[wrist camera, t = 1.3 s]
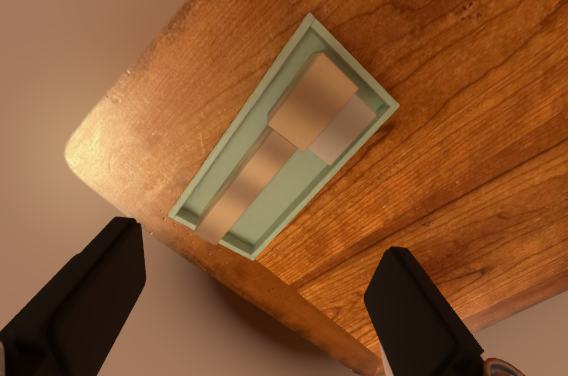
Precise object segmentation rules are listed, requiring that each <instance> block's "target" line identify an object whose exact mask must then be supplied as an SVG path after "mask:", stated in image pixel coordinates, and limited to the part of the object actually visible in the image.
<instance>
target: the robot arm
mask: <svg viewBox="0 0 568 376" xmlns="http://www.w3.org/2000/svg"><path fill="white" fill-rule="evenodd" d="M145 282H146V270H145V260H144V249H143V239H142V228H141V224H140V223H137V222H136V220H135V219H134V218H127V217H114V218H113V219H112V220H111V221H110V222H109V223H108V225H106V227H105V228H104V229H103V230H102V231H101V232H100V233H99V234H98V235H97V236H96V237H95V238H94V239H93V240H92V241H91V242H90V243H89V244H88V245H87V246H86V247H85V249H84V250H83V251H82V252H81V253H79V254H76V255H75V256H74V257H73V258H71V259H70V261H68V262H67V264H66V265H65V266H64V267H63V268H62V269H61V270H60V271H59V272H58V273H57V274H56V275H55V276H54V277H53V278H52V279H51V280H50V281H49V282H48V283H47V284H46V285H45V286H44V287H43V288H42V289H41V290H40V291H39V292H38V293H37V294H36V296H34V297H33V298H32V299H31V300H30V302H29V303H28V304H27V305H26V306H25V307H24V308H23V309H22V310H21V311H20V312H19V313H18V314H17V315H16V316H15V317H14V318H13V319H12V320H11V321H10V322H9V323H8V324H7V325H6V326H5V327H4V328H3V329H2V330H1V331H0V376H97V374H98V372H99V370H100V368H101V367H102V365H103V363H104V361H105V359H106V357H107V355H108V353H109V352H110V350H111V348H112V346H113V344H114V342H115V340H116V338H117V336H118V335H119V333H120V331H121V329H122V327H123V325H124V323H125V322H126V320H127V318H128V316H129V314H130V312H131V310H132V308H133V307H134V305H135V303H136V301H137V299H138V297H139V295H140V294H141V292H142V290H143V288H144V286H145ZM364 303H365V306H366V308H367V311H368V313H369V316H370V318H371V321H372V323H373V326H374V328H375V331H376V333H377V336H378V338H379V341H380V343H381V346H382V348H383V350H384V353H385V355H386V358H387V360H388V363H389V365H390V368H391V370H392V373H393V375H394V376H525V375H524V374H523V373H522V372H521V371H520V370H518V369H517V368H515V367H514V366H512V365H511V364H509V363H507V362H505V361H503V360H500V359H497V358H488V359H486V360H485V361H484V360H483V358H482V357H481V356H480V355H481V354H482V353H483V352H484V350H483V349H482V347H481V346H480V345H479V343H478V342H477V341H476V339H475V338H474V337H473V335H472V334H471V333H470V331H469V330H468V329H467V327H466V326H465V325H464V323H463V322H462V321H461V319H460V318H459V317H458V315H457V314H456V313H455V311H454V310H453V309H452V307H451V306H450V304H449V303H448V302H447V300H446V299H445V298H444V296H443V295H442V294H441V292H440V291H439V290H438V288H437V287H436V286H435V284H434V283H433V282H432V280H431V279H430V278H429V276H428V275H427V274H426V272H425V271H424V270H423V268H422V267H421V266H420V264H419V263H418V262H417V260H416V259H415V257H414V256H413V255H412V253H411V252H410V251H409V250H408V249H407V248H404V247H395V246H392V247H390V248H389V249H388V250H386V251H385V252H384V254H383V257H382V259H381V261H380V263H379V265H378V267H377V269H376V271H375V273H374V275H373V277H372V279H371V281H370V284H369V286H368V288H367V290H366V292H365V294H364Z"/></svg>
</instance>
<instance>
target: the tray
mask: <svg viewBox="0 0 568 376" xmlns="http://www.w3.org/2000/svg"><path fill="white" fill-rule="evenodd" d="M321 52H322V53H324V54H325V55H326V56H327V57H328V58H329V59H330V60H331V61H332V62H333V63H334V64H335V65H336V66H337V67H338V68H339V69H340V70H341V71H342V72H343V73H344V74H345V75H346V76H347V77H348V78H349V79H350V80H351V81H352V82H353V83H354V84H355V85H356V86H357V87H358V88H359V89H358V90H357V91H356V92H355V94H356V95H357V96H358V97H359V98H360V99H361V100H362V101H363V102H364V103H365V104H366V105H367V106H368V107H369V108H370V109H371V110H372V111H373V112H374V113H375V114H376V115H377V116H376V117H375V118H374V119H373V120H372V121H371V122H370V123H369V125H368V126H367V127H366V128H365V129H364V130H363V131H362V132H361V133H360V134H359V135H358V136H357V138H356V139H355V140H354V141H353V142H352V143H351V144H350V145H349V146H348V147H347V148H346V149H345V150H344V152H343V153H342V154H341V155H340V156H339V157H338V158H337V159H336V160H335V161H334V162H333V163H332V164H331V165H328V164H327V163H326V162H325V161H323V160H322V159H321V158H319V157H318V156H317V155H316V154H314V153H313V152H312V151H310V150H309V149H308V148H307V149H306V151H305V152H302V151H301V150H300V149H299V148H297V150H296V151H295V152H294V153H293V155H292V156H291V157H290V158H289V159H288V161H287V162H286V163H285V164H284V165H283V167H282V168H281V169H280V170H279V171H278V172H277V174H276V175H275V176H274V177H273V178H272V180H271V181H270V182H269V183H268V184H267V186H266V187H265V188H264V189H263V190H262V191H261V193H260V194H259V195H258V196H257V197H256V199H255V200H254V201H253V202H252V203H251V205H250V206H249V207H248V208H247V209H246V210H245V212H244V213H243V214H242V215H241V216H240V218H239V219H238V220H237V221H236V222H235V223H234V225H233V226H232V227H231V228H230V229H229V231H228V232H227V233H226V234H225V235H224V237H223V238H222V239H221V240H220V241H219V242H218V243H220V244H222V245H224V246H226V247H227V248H229V249H231V250H233V251H235V252H237V253H239V254H241V255H243V256H245V257H247V258H249V259H250V260H252V261H253V260H254V259H255V258H256V257H257V256H258V255H259V254H260V253H261V252H262V250H263V249H264V248H265V247H266V246H267V245H268V244H269V243H270V242H271V241H272V240H273V239H274V238H275V237H276V236H277V235H278V234H279V233H280V232H281V231H282V229H283V228H284V227H285V226H286V225H287V224H288V223H289V222H290V221H291V220H292V219H293V218H294V217H295V216H296V215H297V214H298V213H299V212H300V211H301V209H302V208H303V207H304V206H305V205H306V204H307V203H308V202H309V201H310V200H311V199H312V198H313V197H314V196H315V195H316V194H317V193H318V192H319V191H320V190H321V188H322V187H323V186H324V185H325V184H326V183H327V182H328V181H329V180H330V179H331V178H332V177H333V176H334V175H335V174H336V173H337V172H338V171H339V170H340V168H341V167H342V166H343V165H344V164H345V163H346V162H347V161H348V160H349V159H350V158H351V157H352V156H353V155H354V154H355V153H356V152H357V151H358V150H359V148H360V147H361V146H362V145H363V144H364V143H365V142H366V141H367V140H368V139H369V138H370V137H371V136H372V135H373V134H374V133H375V132H376V131H377V130H378V129H379V127H380V126H381V125H382V124H383V123H384V122H385V121H386V120H387V119H388V118H389V117H390V116H391V115H392V114H393V113H394V112H395V111H396V110H397V109H398V107H399V106H400V105H399V104H398V103H397V102H396V101H395V100H394V99H393V98H392V97H391V96H390V95H389V93H388V92H387V91H386V90H385V89H384V88H383V87H382V86H381V85H380V84H379V83H378V82H377V81H376V80H375V79H374V78H373V77H372V76H371V75H370V74H369V73H368V72H367V71H366V70H365V69H364V68H363V67H362V66H361V65H360V63H359V62H358V61H357V60H356V59H355V58H354V57H353V56H352V55H351V54H350V53H349V52H348V51H347V50H346V49H345V48H344V47H343V46H342V45H341V44H340V43H339V42H338V41H337V40H336V39H335V38H334V37H333V36H332V35H331V33H330V32H329V31H328V30H327V29H326V28H325V27H324V26H323V25H322V24H321V23H320V22H319V21H318V20H317V19H315V17H314V16H313V15H312V14H311V13H310V12H309V13H308V14H307V15H306V16H305V18H304V19H303V20H302V22H301V23H300V25H299V26H298V28H297V29H296V30H295V32H294V33H293V35H292V36H291V38H290V39H289V41H288V42H287V43H286V45H285V46H284V48H283V49H282V51H281V52H280V53H279V55H278V56H277V58H276V59H275V61H274V62H273V64H272V65H271V66H270V68H269V69H268V71H267V72H266V74H265V75H264V76H263V78H262V79H261V81H260V82H259V84H258V85H257V87H256V88H255V89H254V91H253V92H252V94H251V95H250V97H249V98H248V100H247V101H246V102H245V104H244V105H243V107H242V108H241V110H240V111H239V112H238V114H237V115H236V117H235V118H234V120H233V121H232V123H231V124H230V125H229V127H228V128H227V130H226V131H225V133H224V134H223V135H222V137H221V138H220V140H219V141H218V143H217V144H216V146H215V147H214V148H213V150H212V151H211V153H210V154H209V156H208V157H207V158H206V160H205V161H204V163H203V164H202V166H201V167H200V169H199V170H198V171H197V173H196V174H195V176H194V177H193V179H192V180H191V182H190V183H189V184H188V186H187V187H186V189H185V190H184V192H183V193H182V194H181V196H180V197H179V199H178V200H177V202H176V203H175V205H174V206H173V208H172V209H171V211H170V212H169V214H168V217H170V218H172V219H174V220H176V221H178V222H180V223H182V224H183V225H185V226H187V227H189V228H191V229H193V230H195V228H196V225H197V223H198V220H199V218H200V216H201V213H202V211H203V209H204V208H205V206H206V205H207V204H208V202H209V201H210V200H211V199H212V197H213V196H214V195H215V193H216V192H217V191H218V189H219V188H220V187H221V185H222V184H223V183H224V181H225V180H226V179H227V177H228V176H229V175H230V173H231V172H232V171H233V170H234V168H235V167H236V166H237V164H238V163H239V162H240V160H241V159H242V158H243V156H244V155H245V154H246V152H247V151H248V150H249V148H250V147H251V146H252V144H253V143H254V142H255V140H256V139H257V138H258V137H259V135H260V134H261V133H262V131H263V130H264V129H265V127H266V126H267V125H268V122H267V113H268V112H269V110H270V109H271V108H272V106H273V105H274V104H275V102H276V101H277V100H278V98H279V97H280V96H281V94H282V93H283V92H284V90H285V89H286V88H287V86H288V85H289V84H290V82H291V81H292V80H293V78H294V77H295V76H296V74H297V73H298V71H299V70H300V69H301V67H302V66H303V65H304V63H305V62H306V61H307V59H308V58H309V57H310V55H311V54H312V53H321Z"/></svg>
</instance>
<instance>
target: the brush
mask: <svg viewBox="0 0 568 376" xmlns="http://www.w3.org/2000/svg"><path fill="white" fill-rule="evenodd" d="M358 89H359V88H358V87H357V86H356V85H355V84H354V83H353V82H352V81H351V80H350V79H349V78H348V77H347V76H346V75H345V74H344V73H343V72H342V71H341V70H340V69H339V68H338V67H337V66H336V65H335V64H334V63H333V62H332V61H331V60H330V59H329V58H328V57H327V56H326V55H325V54H324V53H322V52H321V53H312V54H311V55H310V57H309V58H308V59H307V61H306V62H305V63H304V65H303V66H302V67H301V69H300V70H299V71H298V73H297V74H296V76H295V77H294V78H293V80H292V81H291V82H290V84H289V85H288V86H287V88H286V89H285V90H284V92H283V93H282V94H281V96H280V97H279V98H278V100H277V101H276V102H275V104H274V105H273V106H272V108H271V109H270V110H269V112H268V113H267V122H268V125H267V126H266V127H265V129H264V130H263V131H262V133H261V134H260V135H259V137H258V138H257V139H256V140H255V142H254V143H253V144H252V146H251V147H250V148H249V150H248V151H247V152H246V154H245V155H244V156H243V158H242V159H241V160H240V162H239V163H238V164H237V166H236V167H235V168H234V170H233V171H232V172H231V173H230V175H229V176H228V177H227V179H226V180H225V181H224V183H223V184H222V185H221V187H220V188H219V189H218V191H217V192H216V193H215V195H214V196H213V197H212V199H211V200H210V201H209V202H208V204H207V205H206V206H205V208H204V209H203V211H202V213H201V216H200V218H199V220H198V223H197V225H196V228H195V230H194V232H193V234H194V235H196V236H198V237H200V238H202V239H204V240H206V241H208V242H209V243H211V244H213V245H217V244H218V242H219V241H220V240H221V239H222V238H223V237H224V235H225V234H226V233H227V232H228V231H229V229H230V228H231V227H232V226H233V225H234V223H235V222H236V221H237V220H238V219H239V218H240V216H241V215H242V214H243V213H244V212H245V210H246V209H247V208H248V207H249V206H250V205H251V203H252V202H253V201H254V200H255V199H256V197H257V196H258V195H259V194H260V193H261V191H262V190H263V189H264V188H265V187H266V186H267V184H268V183H269V182H270V181H271V180H272V178H273V177H274V176H275V175H276V174H277V172H278V171H279V170H280V169H281V168H282V167H283V165H284V164H285V163H286V162H287V161H288V159H289V158H290V157H291V156H292V155H293V153H294V152H295V151H296V150H297V148H299V149H300V150H301V151H302V152H305V151H306V149H307V148H308V149H309V150H310V151H312V152H313V153H314V154H316V155H317V156H318V157H319V158H321V159H322V160H323V161H325V162H326V163H327V164H328V165H331V164H332V163H333V162H334V161H335V160H336V159H337V158H338V157H339V156H340V155H341V154H342V153H343V152H344V150H345V149H346V148H347V147H348V146H349V145H350V144H351V143H352V142H353V141H354V140H355V139H356V138H357V136H358V135H359V134H360V133H361V132H362V131H363V130H364V129H365V128H366V127H367V126H368V125H369V123H370V122H371V121H372V120H373V119H374V118H375V117H376V116H377V115H376V114H375V113H374V112H373V111H372V110H371V109H370V108H369V107H368V106H367V105H366V104H365V103H364V102H363V101H362V100H361V99H360V98H359V97H358V96H357V95H356V94H355V92H356V91H357V90H358Z"/></svg>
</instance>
